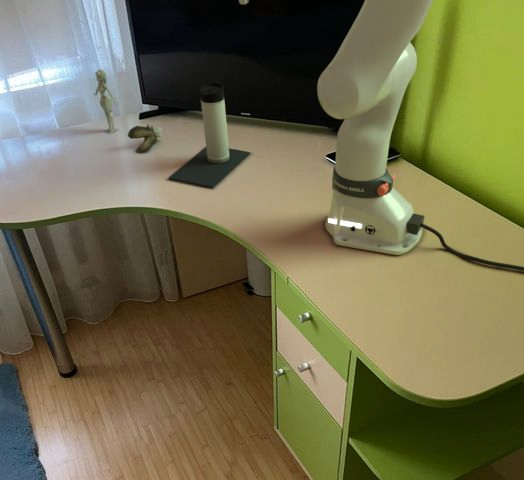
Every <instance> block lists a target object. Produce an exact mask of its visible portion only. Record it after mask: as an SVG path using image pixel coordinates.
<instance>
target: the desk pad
mask: <svg viewBox="0 0 524 480" xmlns="http://www.w3.org/2000/svg"><path fill="white" fill-rule="evenodd" d="M250 155H251V152H250V151H246V150H240V149H234V148H229V157H230V158H229V160H228V161H226V162H224V163H219V164H216V163H211V162H209V161H208V157H207V149H206V146H205V147H204V148H202V149H201V150H200V151H199V152H197V153H196V154H195V155H194V156H193V157H192V158H190V159H189V160H188V161H187V162H186V163H184V164H183V165H181V166H180V167H179V168H178V169H177V170H175V171H174V172H173V173H172V174H171V175H170V176H168V180H169V181H173V182H174V181H175V182H179V183H184V184H189V185H192V186H193V185H194V186H199V187H204V188H208V189H212V190H213V189H214V188H215V187H217V186H218V185H219V183H221V182H222V181H223V180H224V179H225V178H226V177H227V176H228V175H229V174H231V173H232V172H233V171H234V170H235V169H236V168H237V167H238V166H239V165H240V164H241V163H242V162H243V161H244V160H246V159H247V158H248V157H249V156H250Z"/></svg>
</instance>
